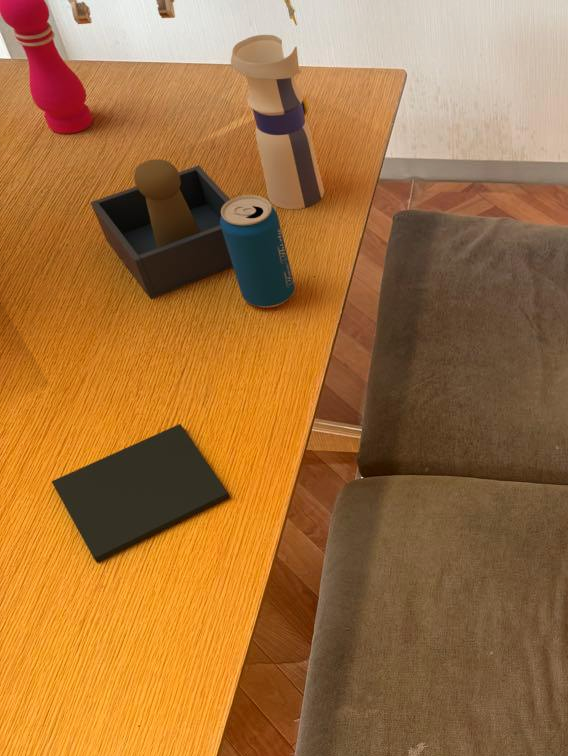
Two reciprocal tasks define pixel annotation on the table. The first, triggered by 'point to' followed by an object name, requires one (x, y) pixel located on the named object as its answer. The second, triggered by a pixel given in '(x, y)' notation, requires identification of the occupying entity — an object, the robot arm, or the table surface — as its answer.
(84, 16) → the robot arm
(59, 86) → the pepper mill
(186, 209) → the brown pawn
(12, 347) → the table surface
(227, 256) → the bin
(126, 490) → the mat
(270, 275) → the beverage can
